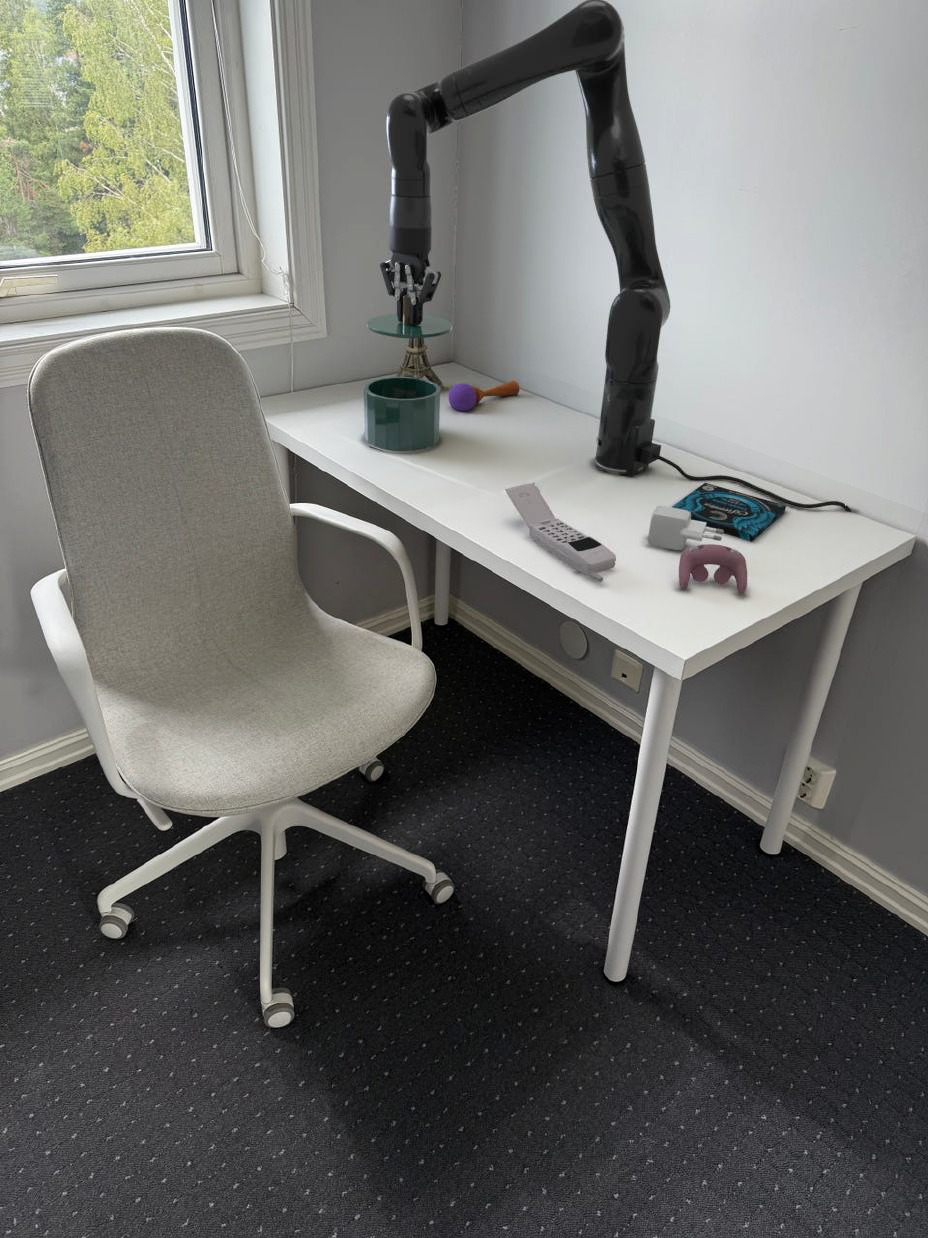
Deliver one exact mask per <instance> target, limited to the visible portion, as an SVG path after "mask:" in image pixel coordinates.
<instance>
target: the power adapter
mask: <svg viewBox="0 0 928 1238" xmlns="http://www.w3.org/2000/svg"><path fill="white" fill-rule="evenodd" d="M705 532H710V533H714V534H709V533H705ZM716 534H719V535H716ZM724 534H725V533H724V530H721V529H715V528H710V527H706V522H701V521H695V520H691V512H689V511H687V510H683V509H678V508H672V506H666V505H656V506H655V509H654V510H653V512H652V514H651V518H650V523H649V529H648V536H647V542H648V544H649V545H651V546H654V547H659V548H663V549H668V550H673V551H683V549H684V548H685V547H686V545H687V542H688V541H687V540H692V541H696V542H697V541H698V542H702V540H703V539H710V540H714V541H722V536H721V535H724Z"/></svg>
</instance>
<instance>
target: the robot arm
mask: <svg viewBox="0 0 928 1238" xmlns="http://www.w3.org/2000/svg"><path fill="white" fill-rule="evenodd" d="M625 36H626V35H625V27H624V22H623V20H622V18H621V16H620V13H619V12H618V10H617V9H616V8H615V6H614V5H612V4H611V3H610V2H608V1H606V0H584V1H582V2H580V3H579V4H578V5H577V6H576V7H574V8H572V9H571V10H569V11H568V12H567V13H565V14H564V15H562V16H561V17H560V18H558V19H557V20H555V21H553V22H552V23H551V24H549V25H548V26H546V27H545V28H543V29H541V30H539V31H538V32H536V33H534V34H533V35H531V36H528V37H527V38H525V39H523V40H521V41H519V42H517V43H516V44H513V45H511V46H508V47H506V48H504V49H502V50H499V51H496V52H494V53H491V54H489V55H488V56H485V57H482V58H480V59H478V60H476V61H473V62H471V63H469V64H466V65H464V66H462V67H459V68H458V69H456V70H453V71H451V72H450V73H448V74H445V76H443V77H442V78H441V79H440V80H439V81H436V82H433V83H431V84H428V85H426V86H424V87H421V88H419V89H416V90H413V91H411V92H409V91H408V92H403V93H399V94H398V95H396V96H395V97H393V99H392V100H391V101H390V103H389V105H388V107H387V112H386V119H385V120H386V122H385V123H386V124H385V125H386V126H385V127H386V138H387V139H386V141H387V148H388V154H389V160H390V197H389V207H388V247H389V250H390V252H392V253H391V256H390V259H389V260H387V261H384V262H380V264H379V268H380V271H381V274H382V277H383V281H384V284H385V289H386V291H387V294H388V296H389V297H390V296H392V297H393V298H394V300H395V301H396V314H397V318H398V321H399V322H403V295H407V294H410V296H411V303H412V305H411V316H410V323H411V325H414V326H416V325H420V324H421V322H422V320H423V315H424V314H423V313H424V304H425V303H429V302H432V301H433V298H434V296H435V293H436V290H437V288H438V285H439V284H440V280H441V279H442V273H441V272H440V271H435V270H434V269H433V268H432V267H431V262H430V259H429V254H430V252H431V251H432V234H433V233H432V232H433V231H432V229H433V228H432V227H433V226H432V225H433V206H432V167H431V163H430V161H429V159H428V136H430V135H432V134H434V133H436V132H438V131H440V130H442V129H444V128H446V127H448V126H450V125H451V124H453V123H455V122H459V121H462V120H466V119H468V118H470V117H473V116H475V115H477V114H480V113H483V112H484V111H487V110H489V109H492V108H494V107H496V106H498V105H499V104H501V103H503V102H505V101H507V100H509V99H511V98H512V97H514V96H516V95H517V94H519V93H521V92H522V91H525V90H526V89H528V88H529V87H531V86H533V85H536V84H537V83H540V82H542V81H544V80H547V79H549V78H552V77H555V76H558V75H561V74H565V73H569V72H575V75H576V79H577V82H578V86H579V90H580V94H581V98H582V102H583V108H584V115H585V116H584V117H585V141H586V156H587V157H586V158H587V167H588V168H587V169H588V175H589V179H590V187H591V191H592V197H593V203H594V207H595V211H596V213H597V216H598V219H599V222H600V224H601V226H602V229H603V231H604V233H605V235H606V237H607V239H608V241H609V244H610V246H611V248H612V252H613V254H614V257H615V262H616V267H617V268H616V269H617V273H618V274H617V275H618V285H619V293H618V294H617V295H616V296H615V297H614V299H613V300H612V303H611V306H610V308H609V314H608V320H607V330H606V331H607V332H606V341H605V352H604V358H605V359H604V360H605V364H606V365H605V366H606V369H605V375H604V385H603V392H602V401H601V408H600V409H601V410H600V417H599V418H600V419H599V424H598V425H599V426H598V434H597V436H596V439H595V442H596V451H595V457H594V465H595V467H596V468H597V469H599V470H600V471H603V472H606V473H608V474H614V475H621V476H622V475H623V476H628V477H633V476H635V475H637V474H639V473H641V472H643V471H645V470H647V469H648V468H649V465H650V464H652V463H654V462H655V461H658V460H659V461H661V462H663V463H665V464H667V465H669V466H671V467H672V468H674V469H675V470H676V471H678V472H679V474H680V475H681V476H682V477H684V478H685V479H688V480H691V481H695V482H696V481H699V482H700V481H701V482H702V481H714V480H727V481H731V482H736V483H738V484H741V485H744V486H745V487H747V488H750V489H752V490H754V491H756V492H759V493H761V494H763V495H766V496H768V497H770V498H773V499H775V500H777V501H780V502H781V503H782V504H783V503H784V504H785V505H789V506H792V507H797V508H801V509H817V508H822V507H829V506H839V507H841V508H842V509H844V511H846V512H849V513H852V512H853V511H852V509H851V508H850V507H849V506H848V505H847V504H846V503H844V502H842V501H838V500H830V501H829V500H827V501H823V502H818V503H807V504H806V503H802V502H796V501H793V500H789V499H787V498H784V497H782V496H780V495H778V494H776V493H774V492H772V491H769V490H766V489H764V488H762V487H759V486H757V485H755V484H753V483H751V482H748V481H746V480H744V479H742V478H738V477H735V476H731V475H721V474H718V475H708V476H707V475H706V476H694V475H690V474H688V473H686V472H685V471H684V470H683V469H682V468H681V467H680V466H679V465H678V464H677V463H675V462H673V461H672V460H669V459H668V458H666V457H664V456H662V455H661V451H662V445H661V444H658V443H655V442H653V437H654V432H655V426H656V419H654V418H652V414H653V407H654V402H655V396H656V395H655V394H656V388H657V382H658V375H659V369H660V368H659V367H660V365H659V362H658V354H659V353H658V352H659V344H660V337H661V331H662V328H663V326H664V325H665V324H666V323H667V321H668V319H669V316H670V313H671V299H670V298H671V297H670V293H669V290H668V286H667V283H666V279H665V276H664V271H663V268H662V264H661V261H660V257H659V252H658V248H657V242H656V232H655V231H656V230H655V221H654V213H653V206H652V200H651V199H652V198H651V190H650V183H649V175H648V171H647V164H646V157H645V153H644V150H643V149H644V148H643V145H642V140H641V137H640V131H639V129H638V125H637V121H636V117H635V114H634V111H633V107H632V104H631V100H630V94H629V86H628V78H627V77H628V76H627V64H626V45H625V42H626V41H625V38H626V37H625ZM416 284H417V286H416ZM417 292H418V297H417ZM845 504H846V506H845Z"/></svg>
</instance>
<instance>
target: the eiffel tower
mask: <svg viewBox="0 0 928 1238" xmlns="http://www.w3.org/2000/svg"><path fill="white" fill-rule="evenodd" d="M417 285H418V284H415V286H417ZM417 297H418V291H417ZM427 350H428V345H427V344H425V338H416V339H410V338H408V341H407V345H405V346H404V351H405V356H404V360H403V362H402V364H401V365H399V368H400V369H399V371H398V372H397V373H396V374H395V376H394V377H413V378H420V379H424V377H425V378H426V380H429V381H431V382H433V383H436V384H437V385H438V386H439V387H440V392H441V391H445V390H447V389H448V387H446V386H444V384H443V382H442V381H441V379H440V378H439V376H438V375H437V374H436V372H435V371H434V370H433V369H432V367H433V364H431V363H430V362H429V360H428V355H427Z"/></svg>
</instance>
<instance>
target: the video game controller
mask: <svg viewBox="0 0 928 1238" xmlns="http://www.w3.org/2000/svg"><path fill="white" fill-rule="evenodd" d="M705 565H712V566H713V565H714V566H719V567H718V568H717V569H716V570H715V572H713V573H714V574H713V579H714V582H716V583H717V584H719V585H725V584H727V583H728V582H729V581H730V579H731V578H732V577H734V580H735V585H736V589H737V593H739V595H741V596H742V595H744V594H745V592H746V590H747V587H748V567H747V560H746V558H745V556H744V555H743V553H741V552H740V551H739V550H737V549H735V548H732V547H729V546H726V545H722V544H715V543H714V544H713V543H709V544H705V543H704V544H698V545H692V546H690V547H687V548H685V549H684V550H682V552H681V554H680V557H679V564H678V583H679V587H680V589H681V590H682V591H685V590H686V591H687V588H688V586H689V584H690V580H691V578H692V579H693V581H695V582H697V583H704V582H706V581H707V580H708V579H709V575H710V574H709V569H708V568H707V567H706V566H705Z"/></svg>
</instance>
